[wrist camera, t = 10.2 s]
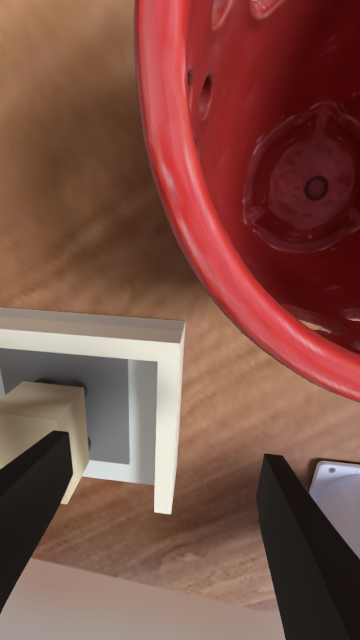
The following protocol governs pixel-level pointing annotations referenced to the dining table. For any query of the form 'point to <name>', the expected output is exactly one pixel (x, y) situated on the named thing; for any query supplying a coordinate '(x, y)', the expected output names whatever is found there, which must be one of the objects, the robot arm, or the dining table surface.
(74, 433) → the cream rectangular block
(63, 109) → the dining table surface
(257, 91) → the plant pot
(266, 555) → the robot arm
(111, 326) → the dock
